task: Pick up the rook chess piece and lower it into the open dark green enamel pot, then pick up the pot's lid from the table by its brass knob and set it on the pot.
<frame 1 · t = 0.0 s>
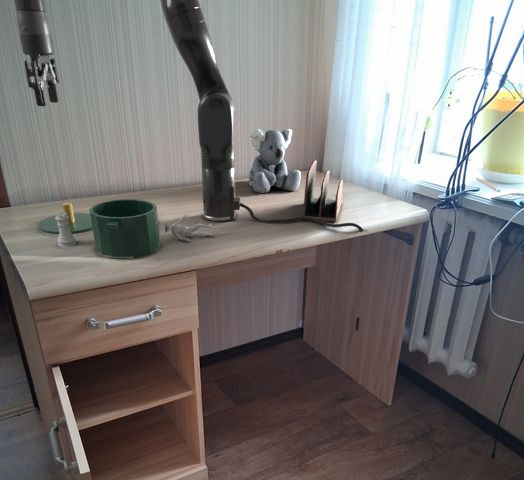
hand: (48, 104, 136), 29 cm above the table, tool pointing down, fingers open, 8 cm apart
letter holder: (322, 212, 157), on the table
soldier figure: (189, 237, 135), on the table
koala plush: (270, 187, 181), on the table
pot: (128, 247, 128), on the table
lid: (70, 223, 141), point 1 cm above the table
rook chess piece: (67, 245, 129), on the table
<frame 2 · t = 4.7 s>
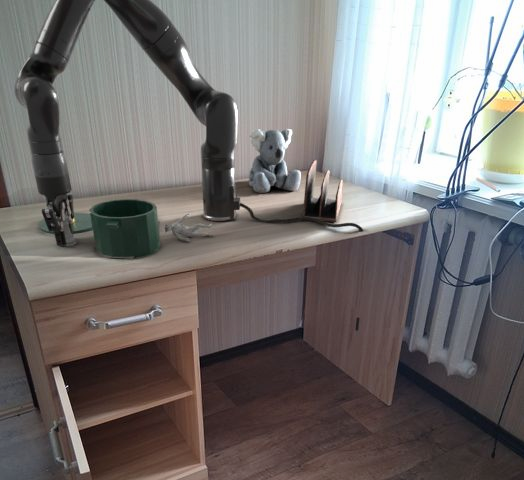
hand: (65, 241, 128), 1 cm above the table, tool pointing down, fingers closed on rook chess piece, 4 cm apart
rook chess piece: (67, 245, 129), on the table, touching gripper
everything else where it was.
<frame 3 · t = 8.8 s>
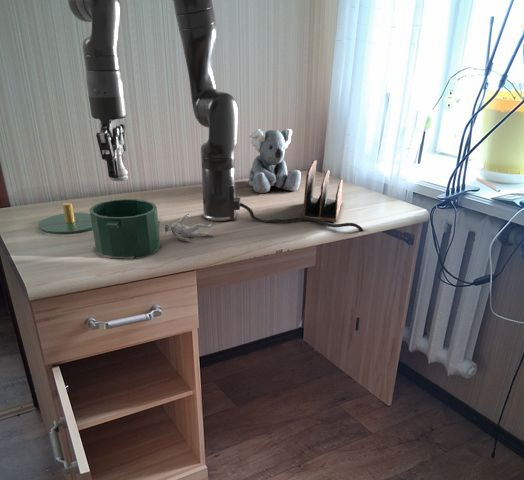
hand: (117, 174, 119), 18 cm above the table, tool pointing down, fingers closed on rook chess piece, 4 cm apart
rook chess piece: (119, 179, 119), point 17 cm above the table, touching gripper
everything else where it was.
when the fingers open (3 cm above the table, at t = 12.8 s): rook chess piece drops 1 cm, resting on pot.
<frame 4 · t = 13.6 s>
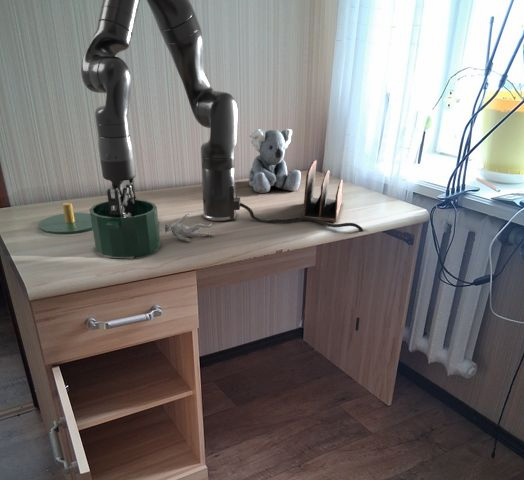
hand: (126, 225, 125), 6 cm above the table, tool pointing down, fingers open, 8 cm apart
rook chess piece: (129, 246, 128), resting on pot
everything else where it was.
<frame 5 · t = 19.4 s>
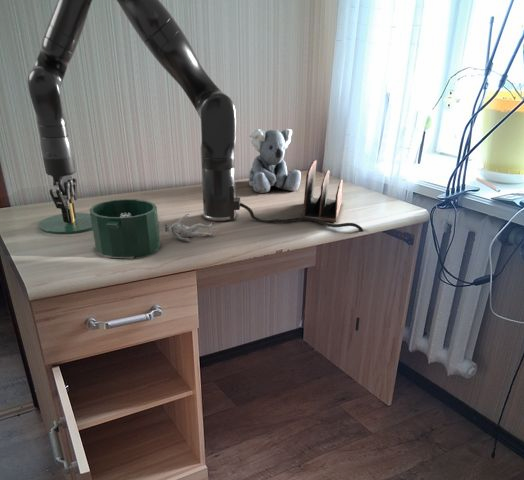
hand: (70, 220, 140), 2 cm above the table, tool pointing down, fingers closed on lid, 2 cm apart
lid: (70, 223, 141), point 1 cm above the table, touching gripper
everything else where it was.
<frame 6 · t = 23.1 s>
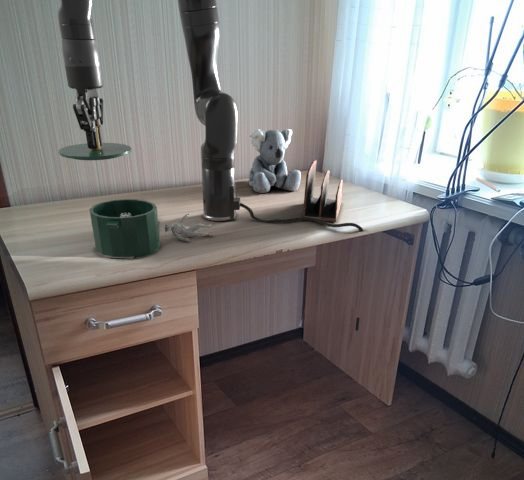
hand: (95, 146, 120), 23 cm above the table, tool pointing down, fingers closed on lid, 2 cm apart
lid: (95, 151, 121), point 22 cm above the table, touching gripper
everything else where it was.
when the fingers open (11 cm above the table, at t = 26.8 s): lid stays where it is, resting on pot.
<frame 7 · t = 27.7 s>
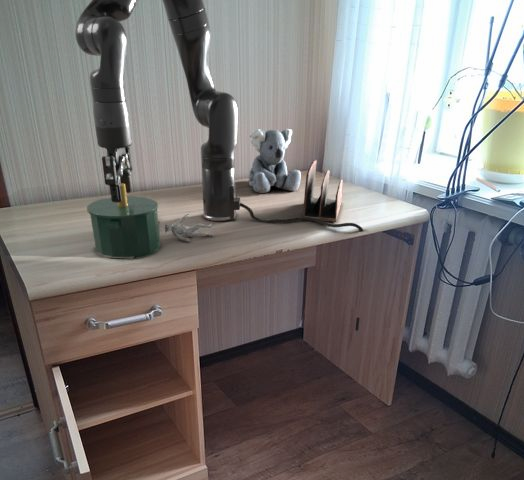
hand: (122, 196, 121), 13 cm above the table, tool pointing down, fingers open, 8 cm apart
lid: (123, 208, 123), point 10 cm above the table, touching pot
everything else where it was.
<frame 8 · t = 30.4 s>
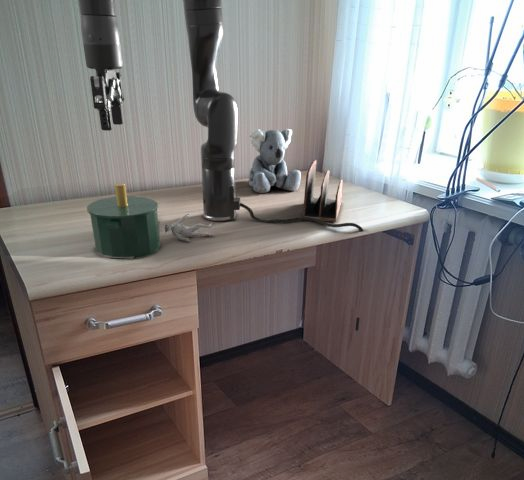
hand: (112, 127, 113), 28 cm above the table, tool pointing down, fingers open, 8 cm apart
nothing on the table moved.
at the end: rook chess piece inside the target area in the pot (0.4 cm from its centre), point 0.3 cm above the pot's base; lid 0.1 cm off-centre on the pot, point 10.0 cm above the pot's base; lid tilted 0° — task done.
